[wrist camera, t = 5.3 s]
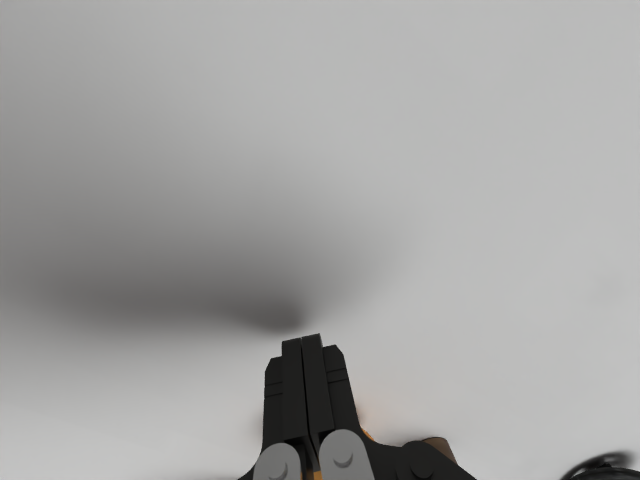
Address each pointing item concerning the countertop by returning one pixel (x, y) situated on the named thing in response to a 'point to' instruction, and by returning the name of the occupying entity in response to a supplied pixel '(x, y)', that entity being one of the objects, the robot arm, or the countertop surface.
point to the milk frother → (608, 474)
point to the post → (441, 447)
